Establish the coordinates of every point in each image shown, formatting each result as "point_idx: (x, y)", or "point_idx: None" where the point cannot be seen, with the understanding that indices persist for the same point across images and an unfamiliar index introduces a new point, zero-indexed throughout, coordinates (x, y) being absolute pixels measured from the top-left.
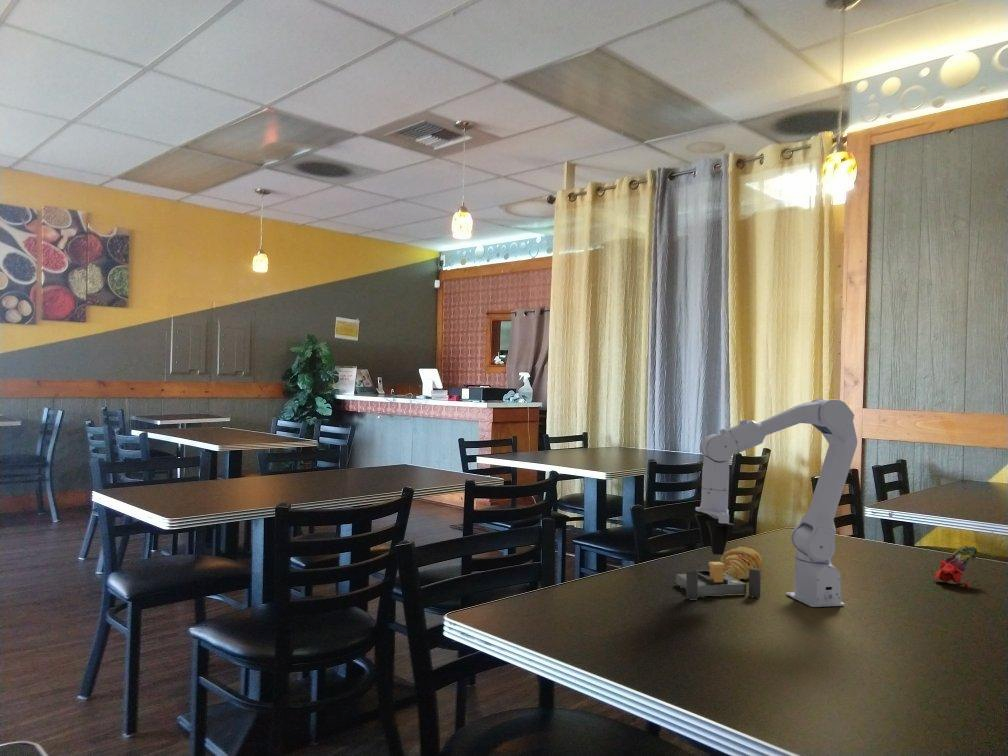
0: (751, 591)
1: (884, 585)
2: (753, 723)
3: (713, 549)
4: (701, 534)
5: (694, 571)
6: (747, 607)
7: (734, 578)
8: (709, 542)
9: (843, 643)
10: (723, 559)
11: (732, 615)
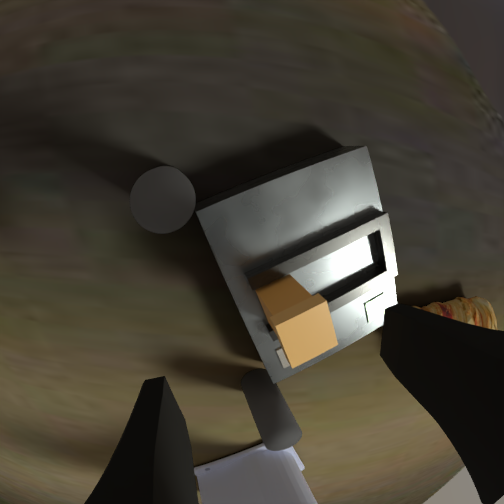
0: (249, 385)
1: (353, 498)
2: None
3: (135, 404)
4: (445, 334)
5: (167, 214)
6: (131, 361)
7: (336, 350)
8: (396, 355)
9: (4, 456)
10: (476, 310)
11: (34, 312)
